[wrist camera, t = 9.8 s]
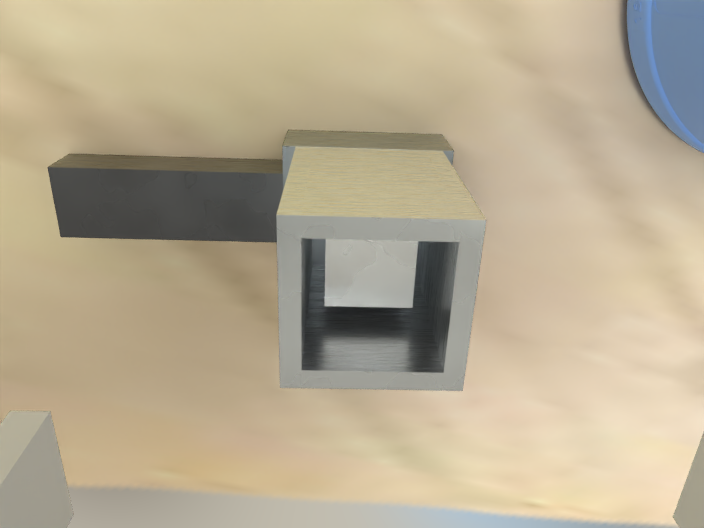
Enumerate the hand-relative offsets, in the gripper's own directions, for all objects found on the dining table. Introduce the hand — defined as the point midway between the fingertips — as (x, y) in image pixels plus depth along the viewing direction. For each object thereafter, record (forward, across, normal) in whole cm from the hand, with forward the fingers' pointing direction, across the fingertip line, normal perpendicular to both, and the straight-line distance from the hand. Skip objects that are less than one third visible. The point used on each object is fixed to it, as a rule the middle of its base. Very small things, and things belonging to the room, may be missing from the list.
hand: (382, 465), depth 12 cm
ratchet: (+18, -5, 0) cm, 18 cm away
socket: (+15, 0, 0) cm, 15 cm away
